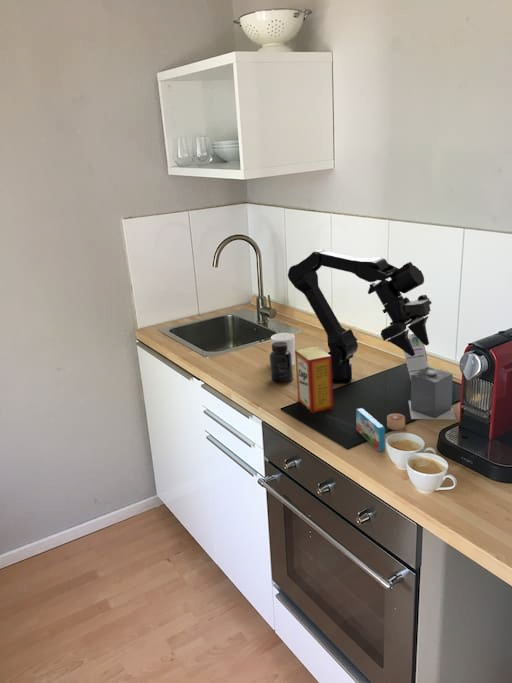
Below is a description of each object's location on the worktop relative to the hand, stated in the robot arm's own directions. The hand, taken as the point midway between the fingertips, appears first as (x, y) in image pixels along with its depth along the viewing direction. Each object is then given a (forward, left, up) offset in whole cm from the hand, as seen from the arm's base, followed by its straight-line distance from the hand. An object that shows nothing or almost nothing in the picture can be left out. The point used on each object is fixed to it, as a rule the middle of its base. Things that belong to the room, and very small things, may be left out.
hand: (420, 350), depth 157 cm
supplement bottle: (-41, +12, -14) cm, 45 cm away
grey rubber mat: (+2, -10, -14) cm, 17 cm away
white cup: (-42, +25, -14) cm, 51 cm away
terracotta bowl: (-7, -19, -14) cm, 25 cm away
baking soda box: (-29, -6, -14) cm, 33 cm away
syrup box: (+1, +12, -12) cm, 18 cm away
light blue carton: (-14, -25, -14) cm, 32 cm away
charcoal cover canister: (+2, -10, -13) cm, 16 cm away
